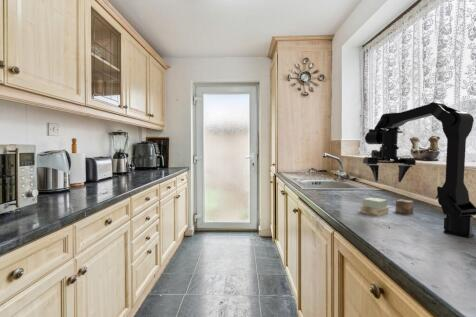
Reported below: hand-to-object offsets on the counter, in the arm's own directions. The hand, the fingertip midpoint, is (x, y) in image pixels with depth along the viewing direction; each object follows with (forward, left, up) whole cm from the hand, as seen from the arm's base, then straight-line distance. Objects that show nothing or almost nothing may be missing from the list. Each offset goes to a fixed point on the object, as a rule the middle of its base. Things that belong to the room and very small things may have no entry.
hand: (387, 181), depth 113 cm
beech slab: (+4, +2, -14) cm, 15 cm away
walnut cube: (-3, -10, -14) cm, 17 cm away
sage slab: (+4, +2, -11) cm, 12 cm away
